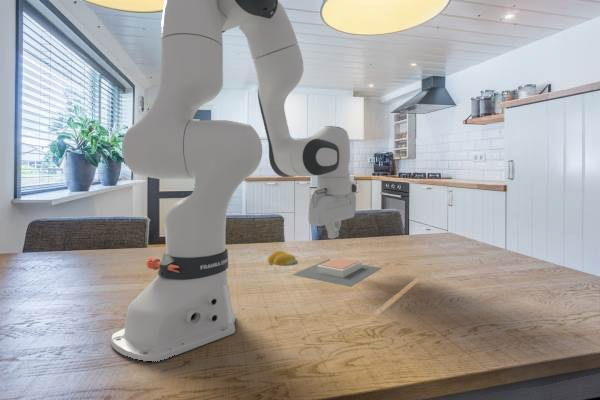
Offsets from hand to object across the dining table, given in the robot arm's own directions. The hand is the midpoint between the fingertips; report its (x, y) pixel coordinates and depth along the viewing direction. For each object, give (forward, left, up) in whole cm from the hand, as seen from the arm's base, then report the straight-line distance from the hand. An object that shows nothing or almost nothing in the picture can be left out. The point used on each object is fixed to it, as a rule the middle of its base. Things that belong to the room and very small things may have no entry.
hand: (333, 237), depth 100 cm
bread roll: (+3, +20, -11) cm, 23 cm away
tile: (-2, 0, -9) cm, 9 cm away
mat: (+3, 0, -11) cm, 11 cm away
